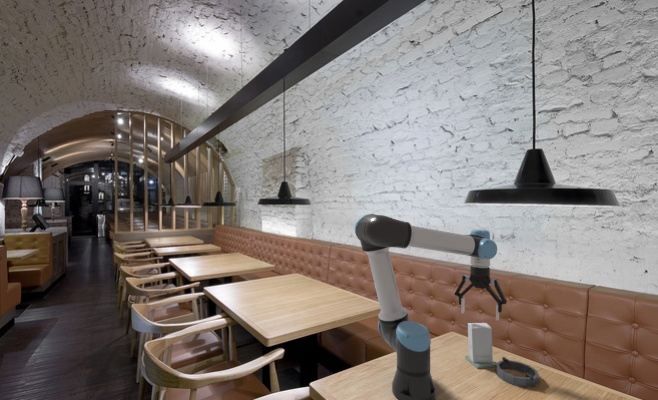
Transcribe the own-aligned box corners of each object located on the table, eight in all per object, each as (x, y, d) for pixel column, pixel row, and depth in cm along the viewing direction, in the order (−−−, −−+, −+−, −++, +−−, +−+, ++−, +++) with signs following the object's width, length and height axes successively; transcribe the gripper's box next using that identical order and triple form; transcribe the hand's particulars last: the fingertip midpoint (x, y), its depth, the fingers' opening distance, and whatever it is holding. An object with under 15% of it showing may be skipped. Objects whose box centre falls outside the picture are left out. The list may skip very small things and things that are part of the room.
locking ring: (514, 389, 116) (514, 378, 116) (487, 368, 131) (487, 358, 131) (549, 386, 118) (549, 375, 118) (518, 365, 133) (518, 355, 133)
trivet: (477, 368, 131) (477, 366, 131) (465, 358, 140) (465, 355, 140) (497, 366, 132) (497, 364, 132) (484, 356, 141) (484, 354, 141)
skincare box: (487, 356, 139) (487, 322, 139) (493, 363, 133) (493, 327, 133) (467, 355, 139) (467, 321, 140) (472, 362, 133) (471, 327, 134)
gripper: (447, 263, 141) (447, 312, 140) (512, 271, 126) (511, 325, 125) (452, 261, 147) (452, 307, 146) (514, 268, 132) (514, 320, 131)
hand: (479, 316), depth 136 cm, fingers open, 13 cm apart
